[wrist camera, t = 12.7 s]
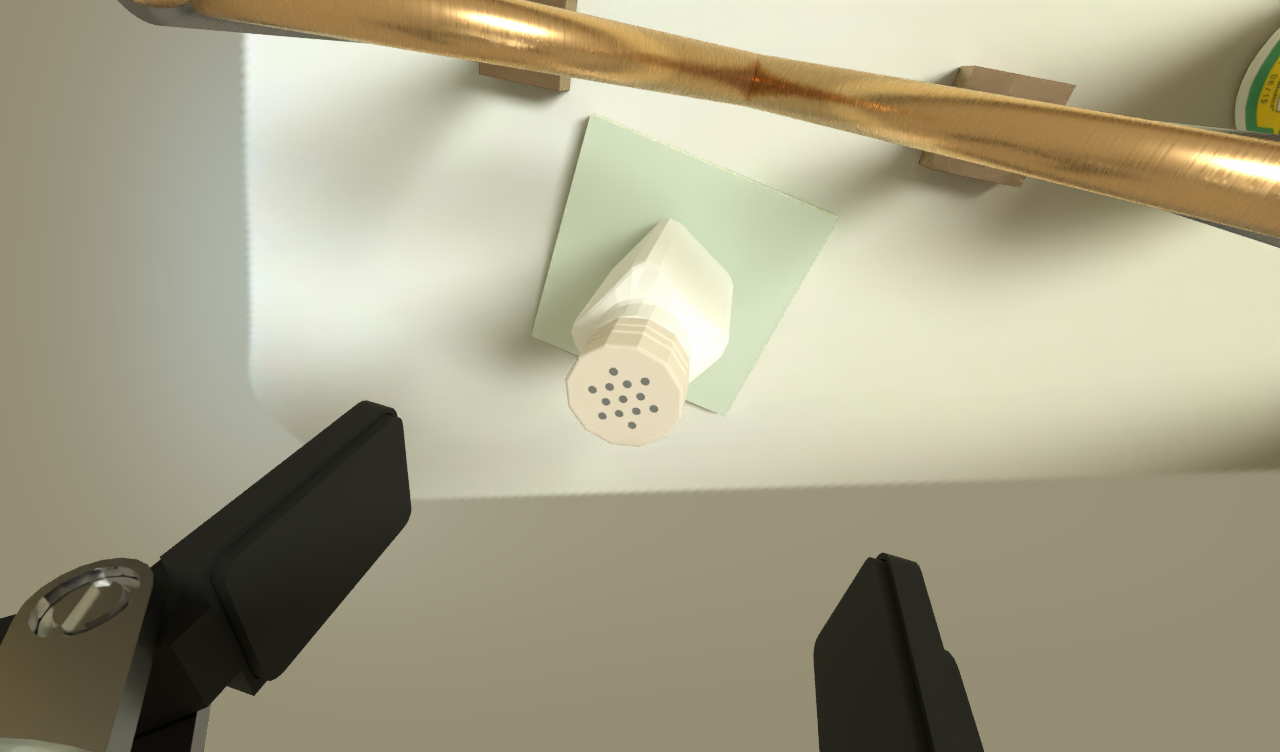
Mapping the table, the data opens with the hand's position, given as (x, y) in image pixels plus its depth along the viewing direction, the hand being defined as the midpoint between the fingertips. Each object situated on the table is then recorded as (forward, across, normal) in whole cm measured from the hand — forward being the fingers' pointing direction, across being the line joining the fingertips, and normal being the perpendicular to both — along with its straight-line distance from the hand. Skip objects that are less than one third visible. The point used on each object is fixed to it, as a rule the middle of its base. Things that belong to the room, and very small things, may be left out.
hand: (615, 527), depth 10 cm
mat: (+14, +2, 0) cm, 14 cm away
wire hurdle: (+14, 0, -8) cm, 16 cm away
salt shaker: (+14, +1, 0) cm, 14 cm away
